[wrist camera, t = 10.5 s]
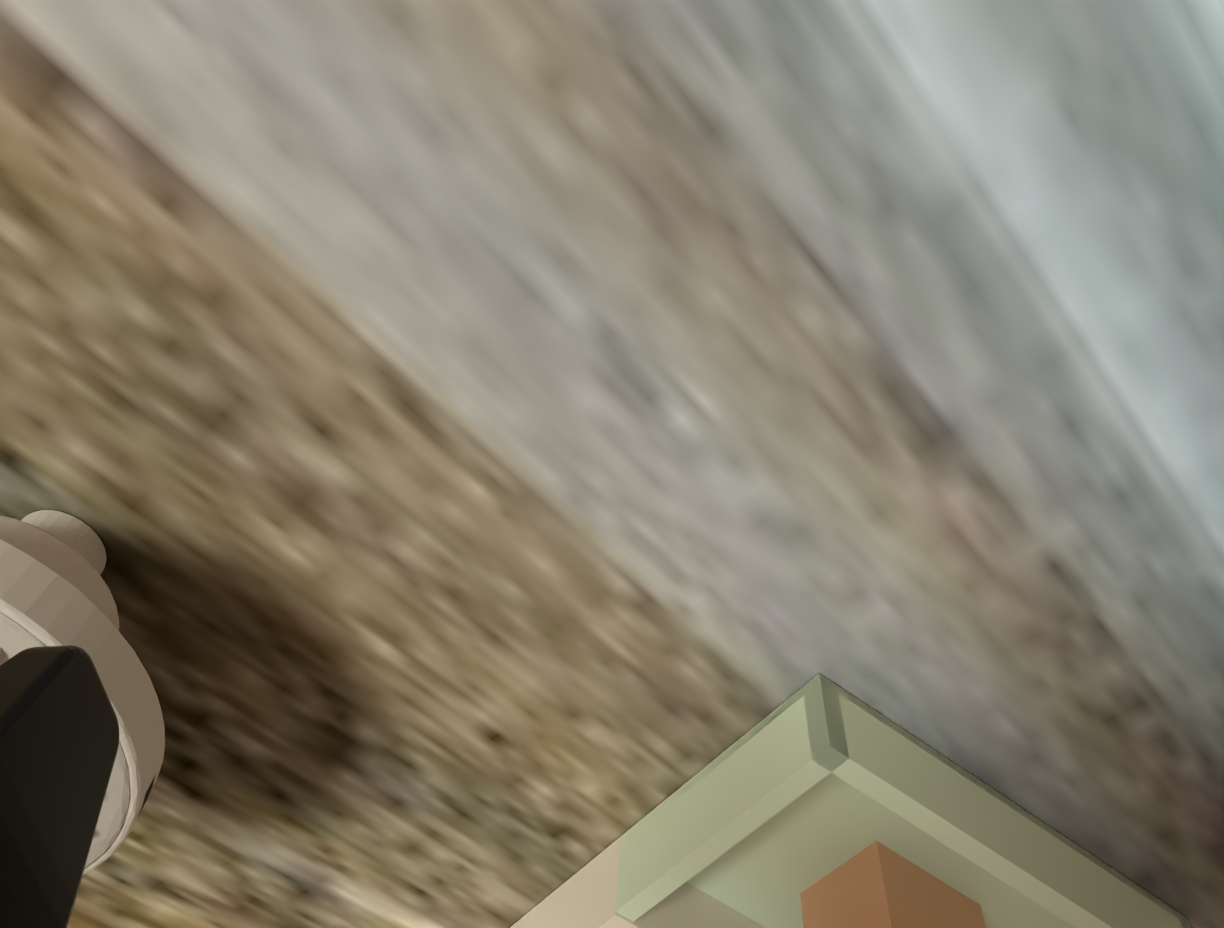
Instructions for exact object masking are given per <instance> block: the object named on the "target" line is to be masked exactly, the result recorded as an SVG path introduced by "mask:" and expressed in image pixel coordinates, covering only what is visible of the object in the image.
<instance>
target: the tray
mask: <svg viewBox="0 0 1224 928" xmlns="http://www.w3.org/2000/svg"><path fill="white" fill-rule="evenodd" d="M875 841H878V842H880V843H881V844H883V845H884V846H886V847H888V848H889V849H891V850H892V851H894V852H896V853H897V854H899V855H901V856H902V857H904V858H905V859H907V860H909V861H910V862H912V863H913V864H915V865H917V866H918V867H920V868H922V869H923V870H925V871H926V872H928V873H930V874H931V875H933V876H934V877H936V878H938V879H939V880H941V881H943V882H944V883H946V884H947V885H949V886H951V887H952V888H954V889H955V890H957V891H959V892H960V893H962V894H964V895H965V896H967V897H968V898H970V899H972V900H973V901H975V902H976V903H978V904H980V906H981V910H982V913H983V917H984V921H985V925H986V928H1192V926H1191V924H1190V922H1189V919H1188V918H1186V917H1185V916H1183V915H1182V914H1180V913H1179V912H1177V911H1176V910H1174V909H1173V908H1171V907H1170V906H1168V905H1167V904H1165V903H1164V902H1162V901H1161V900H1159V899H1158V898H1156V897H1155V896H1153V895H1152V894H1150V893H1149V892H1147V891H1146V890H1144V889H1143V888H1141V887H1140V886H1138V885H1137V884H1135V883H1134V882H1132V881H1131V880H1129V879H1128V878H1126V877H1125V876H1123V875H1122V874H1120V873H1119V872H1117V871H1116V870H1114V869H1113V868H1111V867H1110V866H1108V865H1107V864H1105V863H1104V862H1102V861H1101V860H1099V859H1098V858H1096V857H1095V856H1093V855H1092V854H1090V853H1089V852H1087V851H1086V850H1084V849H1083V848H1081V847H1080V846H1078V845H1077V844H1075V843H1074V842H1072V841H1071V840H1069V839H1068V838H1066V837H1065V836H1063V835H1062V834H1060V833H1059V832H1057V831H1056V830H1054V829H1053V828H1051V827H1050V826H1048V825H1047V824H1045V823H1044V822H1042V821H1041V820H1039V819H1038V818H1036V817H1035V816H1033V815H1032V814H1030V813H1029V812H1027V811H1026V810H1024V809H1023V808H1021V807H1020V806H1018V805H1017V804H1015V803H1014V802H1012V801H1011V800H1009V799H1008V798H1006V797H1005V796H1003V795H1002V794H1000V793H999V792H997V791H996V790H994V789H993V788H991V787H990V786H988V785H987V784H985V783H984V782H982V781H981V780H979V779H978V778H976V777H975V776H973V775H972V774H970V773H969V772H967V771H966V770H964V769H963V768H961V767H960V766H958V765H957V764H955V763H954V762H952V761H951V760H949V759H948V758H946V757H945V756H943V755H942V754H940V753H939V752H937V751H936V750H934V749H933V748H931V747H930V746H928V745H927V744H925V743H924V742H922V741H921V740H919V739H918V738H916V737H915V736H913V735H912V734H910V733H909V732H907V731H906V730H904V729H903V728H901V727H900V726H898V725H896V724H895V723H893V722H892V721H890V720H889V719H887V718H886V717H884V716H883V715H881V714H880V713H878V712H877V711H875V710H874V709H872V708H871V707H869V706H868V705H866V704H865V703H863V702H862V701H860V700H859V699H857V698H856V697H854V696H853V695H851V694H850V693H848V692H847V691H845V690H844V689H842V688H841V687H839V686H838V685H836V684H835V683H833V682H832V681H830V680H829V679H827V678H826V677H824V676H823V675H821V674H820V673H819V674H818V675H816V676H815V677H814V678H813V679H812V680H810V681H809V682H808V683H807V684H805V685H804V686H803V687H802V688H801V689H799V690H798V691H797V692H796V693H795V694H793V695H792V696H791V697H790V698H788V699H787V700H786V701H785V702H784V703H782V704H781V705H780V706H779V707H778V708H776V709H775V710H774V711H773V712H771V713H770V714H769V715H768V716H767V717H765V718H764V719H763V720H762V721H761V722H759V723H758V724H757V725H756V726H754V727H753V728H752V729H751V730H750V731H748V732H747V733H746V734H745V735H743V736H742V737H741V738H740V739H739V740H737V741H736V742H735V743H734V744H733V745H731V746H730V747H729V748H728V749H726V750H725V751H724V752H723V753H722V754H720V755H719V756H718V757H717V758H716V759H714V760H713V761H712V762H711V763H709V764H708V765H707V766H706V767H705V768H703V769H702V770H701V771H700V772H699V773H697V774H696V775H695V776H694V777H692V778H691V779H690V780H689V781H688V782H686V783H685V784H684V785H683V786H681V787H680V788H679V789H678V790H677V791H675V792H674V793H673V794H672V795H671V796H669V797H668V798H667V799H666V800H664V801H663V802H662V803H661V804H660V805H658V806H657V807H656V808H655V809H654V810H652V811H651V812H650V813H649V814H647V815H646V816H645V817H644V818H643V819H641V820H640V821H639V822H638V823H636V824H635V825H634V826H633V827H632V828H630V829H629V830H628V831H627V832H626V833H624V834H623V835H622V836H621V847H620V860H619V874H618V887H617V900H616V912H617V913H619V914H621V915H623V916H625V917H627V918H628V919H630V920H632V921H635V920H636V919H638V918H639V917H640V916H642V915H643V914H644V913H646V912H647V911H648V910H650V909H651V908H652V907H654V906H655V905H656V904H658V903H659V902H660V901H662V900H663V899H664V898H665V897H667V896H668V895H669V894H671V893H672V892H673V891H675V890H676V889H677V888H679V887H680V886H681V885H683V884H684V883H685V882H687V883H689V884H690V885H692V886H694V887H696V888H698V889H699V890H701V891H703V892H705V893H706V894H708V895H710V896H712V897H713V898H715V899H717V900H719V901H720V902H722V903H724V904H726V905H727V906H729V907H731V908H733V909H734V910H736V911H738V912H740V913H742V914H743V915H745V916H747V917H749V918H750V919H752V920H754V921H756V922H757V923H759V924H761V925H763V926H764V927H766V928H804V927H803V917H802V907H801V896H800V893H801V892H803V891H804V890H806V889H807V888H809V887H810V886H812V885H813V884H814V883H816V882H817V881H819V880H820V879H822V878H823V877H824V876H826V875H827V874H829V873H830V872H832V871H833V870H835V869H836V868H837V867H839V866H840V865H842V864H843V863H845V862H846V861H847V860H849V859H850V858H852V857H853V856H855V855H856V854H857V853H859V852H860V851H862V850H863V849H865V848H866V847H868V846H869V845H870V844H872V843H873V842H875Z"/></svg>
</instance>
